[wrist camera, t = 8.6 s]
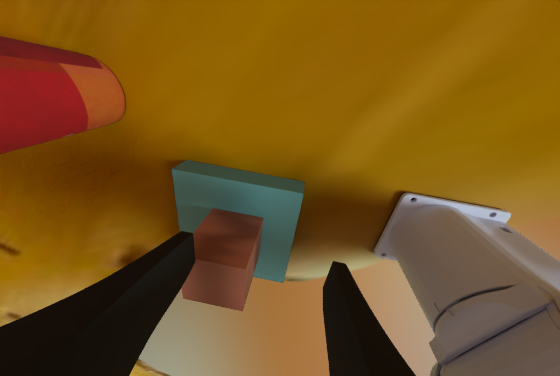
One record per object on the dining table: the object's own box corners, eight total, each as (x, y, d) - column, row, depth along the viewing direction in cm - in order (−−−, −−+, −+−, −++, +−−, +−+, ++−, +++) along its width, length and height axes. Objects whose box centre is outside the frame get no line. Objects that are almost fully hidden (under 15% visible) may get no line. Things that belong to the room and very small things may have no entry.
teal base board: (304, 179, 20) (303, 193, 17) (285, 262, 25) (283, 283, 23) (189, 158, 20) (171, 169, 18) (196, 244, 26) (183, 262, 23)
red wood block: (263, 217, 19) (245, 269, 14) (259, 254, 21) (242, 311, 16) (213, 207, 19) (176, 254, 14) (214, 245, 21) (183, 298, 16)
